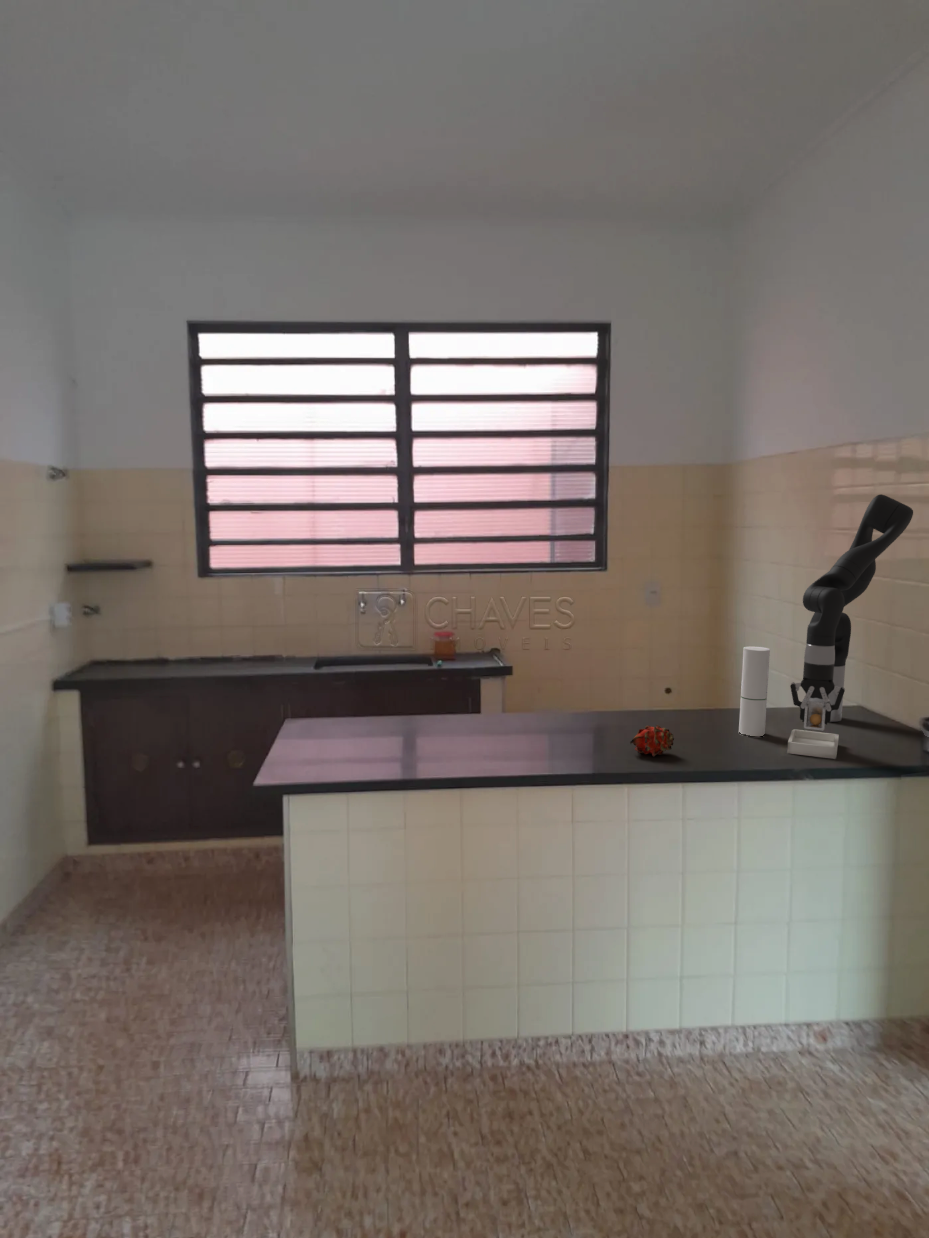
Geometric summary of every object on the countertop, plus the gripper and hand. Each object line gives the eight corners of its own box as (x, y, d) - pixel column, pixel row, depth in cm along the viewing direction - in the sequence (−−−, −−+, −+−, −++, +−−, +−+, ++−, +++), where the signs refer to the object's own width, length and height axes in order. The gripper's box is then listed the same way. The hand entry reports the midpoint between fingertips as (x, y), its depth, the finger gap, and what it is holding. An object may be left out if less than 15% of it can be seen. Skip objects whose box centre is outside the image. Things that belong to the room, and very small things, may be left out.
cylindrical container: (765, 732, 251) (771, 647, 248) (763, 738, 245) (768, 651, 241) (740, 729, 254) (745, 645, 251) (737, 735, 248) (741, 649, 244)
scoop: (805, 721, 238) (807, 700, 238) (825, 723, 236) (826, 702, 235) (803, 728, 231) (805, 706, 230) (823, 730, 229) (825, 708, 228)
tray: (791, 739, 244) (792, 729, 243) (837, 744, 239) (838, 734, 238) (787, 753, 230) (787, 742, 230) (836, 759, 225) (836, 748, 225)
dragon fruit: (677, 760, 228) (633, 767, 227) (667, 735, 234) (624, 742, 233) (681, 740, 222) (635, 748, 221) (670, 715, 228) (626, 722, 227)
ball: (807, 714, 234) (807, 719, 232) (817, 710, 233) (817, 715, 230) (813, 723, 235) (813, 728, 232) (823, 718, 233) (824, 724, 230)
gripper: (789, 660, 231) (785, 722, 233) (848, 665, 225) (843, 729, 227) (791, 656, 238) (787, 716, 240) (848, 661, 232) (844, 722, 234)
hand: (814, 722), depth 234 cm, fingers closed on scoop, 5 cm apart
